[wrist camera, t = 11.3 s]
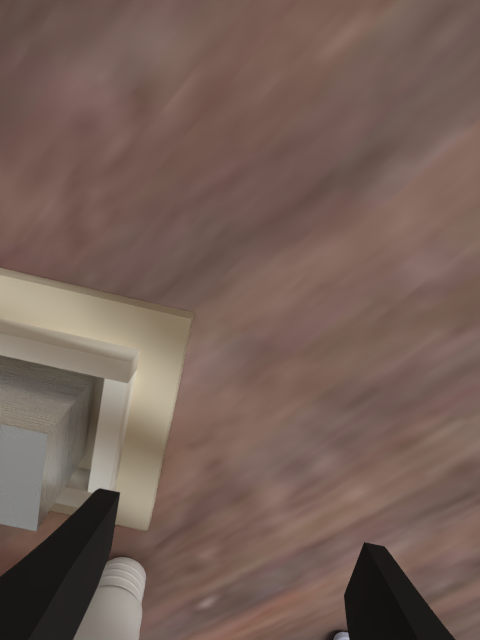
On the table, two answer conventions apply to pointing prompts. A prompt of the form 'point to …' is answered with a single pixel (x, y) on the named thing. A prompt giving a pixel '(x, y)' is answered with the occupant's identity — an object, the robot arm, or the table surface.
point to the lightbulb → (115, 603)
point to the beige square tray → (104, 379)
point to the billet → (39, 436)
